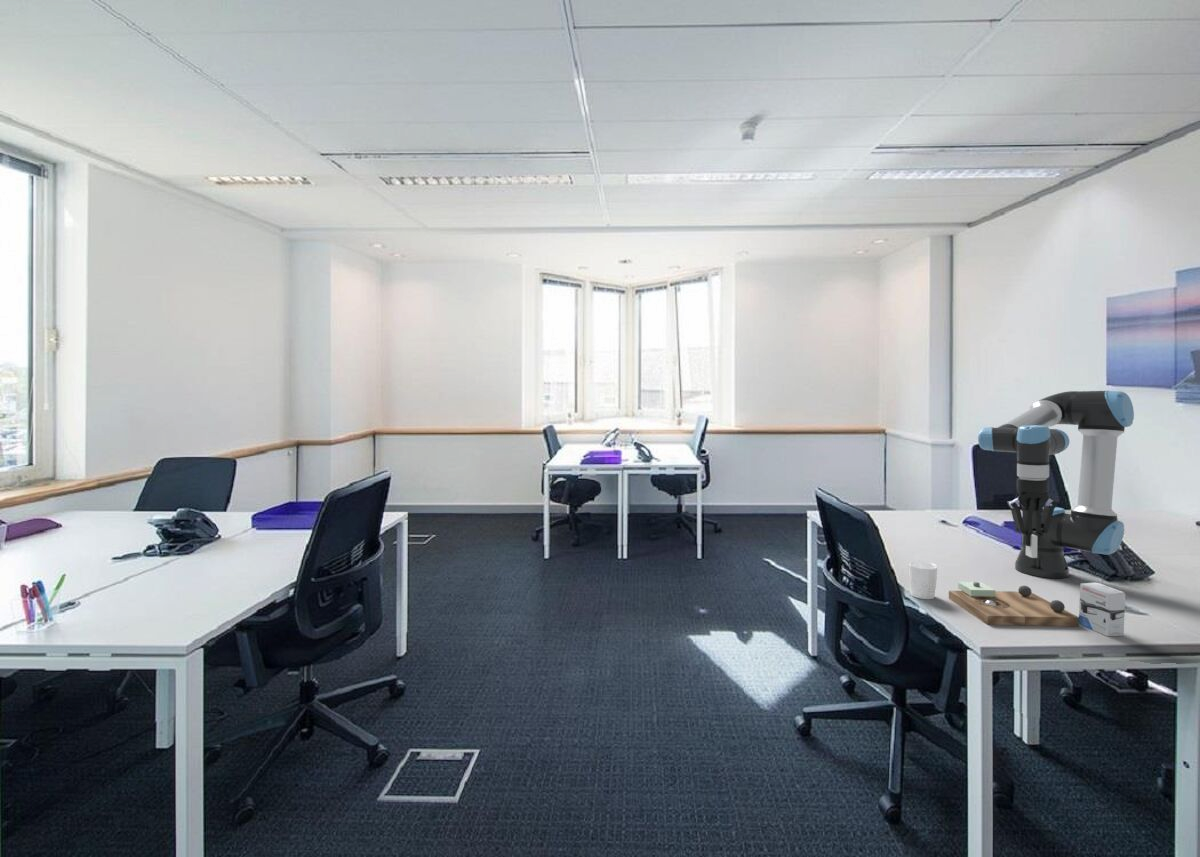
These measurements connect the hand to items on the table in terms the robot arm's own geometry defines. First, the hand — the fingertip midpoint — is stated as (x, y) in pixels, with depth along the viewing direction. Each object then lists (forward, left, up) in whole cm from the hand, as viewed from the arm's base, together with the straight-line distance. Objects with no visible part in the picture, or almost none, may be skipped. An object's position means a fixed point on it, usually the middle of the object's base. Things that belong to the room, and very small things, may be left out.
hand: (1031, 556), depth 165 cm
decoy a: (-1, -3, -12) cm, 12 cm away
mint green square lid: (+12, -5, -13) cm, 19 cm away
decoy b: (-2, +9, -12) cm, 15 cm away
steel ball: (+13, +3, -14) cm, 19 cm away
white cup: (+26, -9, -16) cm, 32 cm away
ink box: (-9, +15, -16) cm, 23 cm away
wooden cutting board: (+7, +3, -16) cm, 18 cm away
